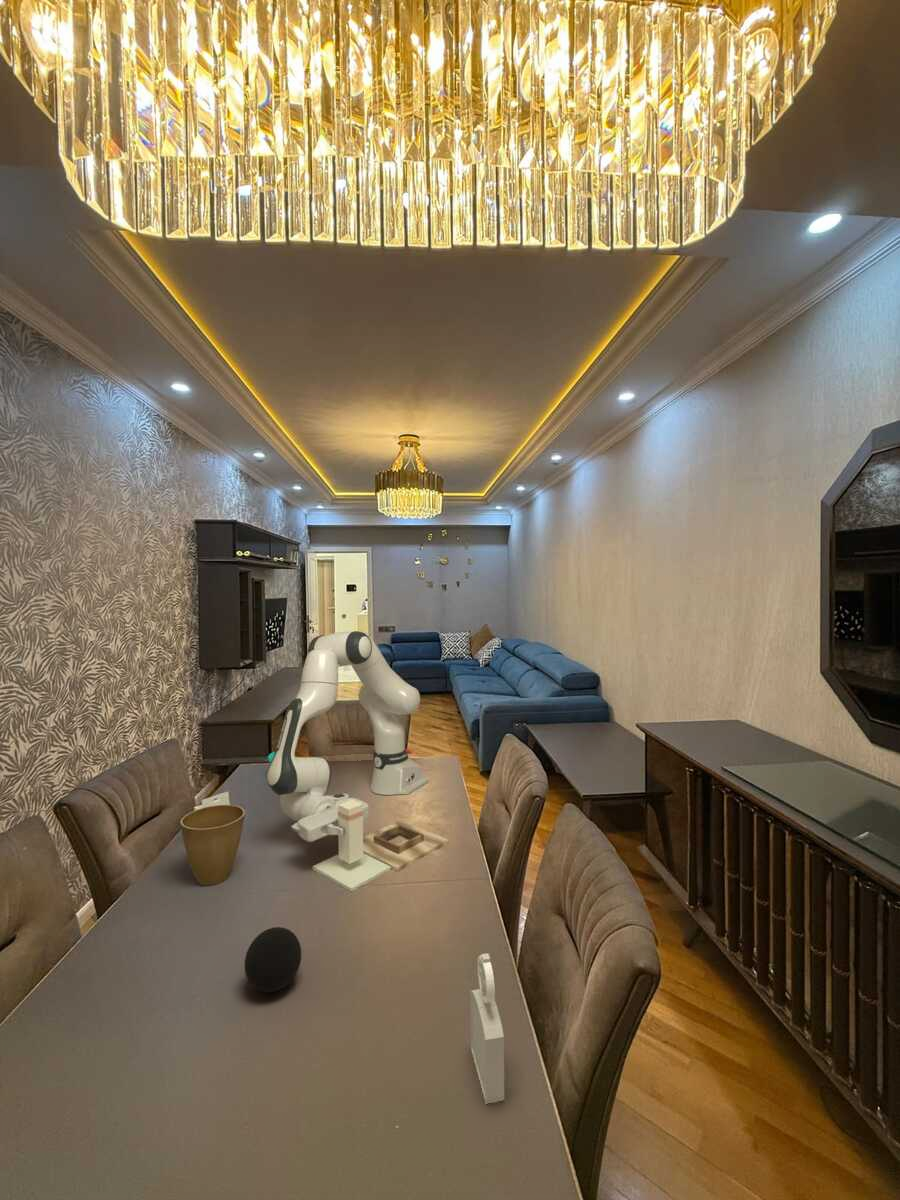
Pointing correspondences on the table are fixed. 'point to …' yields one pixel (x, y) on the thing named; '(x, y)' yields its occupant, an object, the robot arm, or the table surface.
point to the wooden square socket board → (406, 852)
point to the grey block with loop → (487, 1034)
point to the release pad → (351, 871)
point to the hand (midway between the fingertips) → (352, 828)
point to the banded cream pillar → (351, 831)
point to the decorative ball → (273, 959)
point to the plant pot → (212, 841)
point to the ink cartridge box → (215, 801)
